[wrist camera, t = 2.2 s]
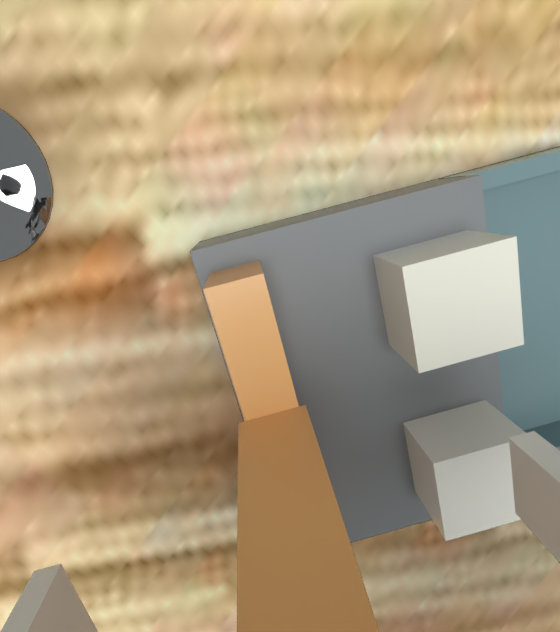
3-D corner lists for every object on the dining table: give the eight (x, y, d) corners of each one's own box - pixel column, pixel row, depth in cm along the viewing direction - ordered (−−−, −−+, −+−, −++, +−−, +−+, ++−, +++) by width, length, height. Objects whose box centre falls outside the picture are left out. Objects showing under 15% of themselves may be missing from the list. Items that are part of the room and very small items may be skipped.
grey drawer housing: (467, 450, 24) (511, 496, 20) (280, 502, 24) (287, 560, 20) (433, 179, 19) (481, 174, 16) (199, 241, 19) (189, 251, 15)
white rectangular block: (476, 320, 17) (524, 344, 14) (389, 344, 17) (418, 373, 14) (467, 229, 16) (516, 236, 13) (372, 255, 16) (401, 267, 13)
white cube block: (492, 469, 20) (535, 515, 17) (415, 491, 20) (445, 541, 17) (485, 399, 18) (530, 436, 16) (403, 422, 18) (433, 463, 16)
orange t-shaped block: (336, 530, 20) (446, 906, 9) (288, 544, 20) (343, 937, 9) (265, 258, 16) (317, 375, 5) (203, 274, 16) (129, 427, 5)
